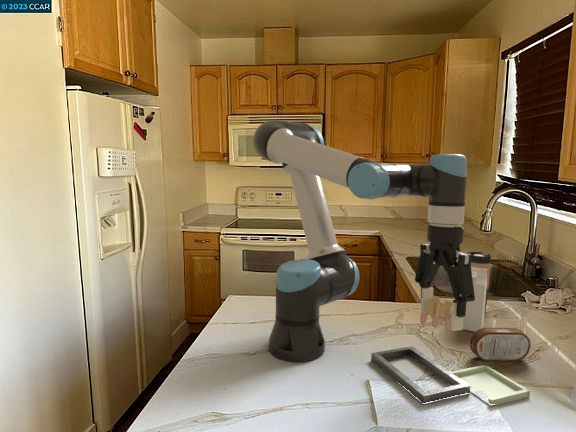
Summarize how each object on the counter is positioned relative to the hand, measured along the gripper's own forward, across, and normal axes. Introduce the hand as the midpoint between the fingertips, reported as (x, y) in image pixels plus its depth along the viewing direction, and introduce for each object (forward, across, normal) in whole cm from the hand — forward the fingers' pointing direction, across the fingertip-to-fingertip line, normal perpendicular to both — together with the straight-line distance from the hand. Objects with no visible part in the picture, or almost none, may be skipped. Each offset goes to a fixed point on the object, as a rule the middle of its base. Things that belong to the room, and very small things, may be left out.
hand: (440, 321), depth 91 cm
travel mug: (+14, +34, -44) cm, 57 cm away
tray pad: (+15, -6, -9) cm, 18 cm away
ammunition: (+1, 0, 0) cm, 1 cm away
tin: (+15, +4, -22) cm, 27 cm away
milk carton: (+14, +23, -31) cm, 41 cm away
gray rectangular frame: (+14, +3, +4) cm, 15 cm away
